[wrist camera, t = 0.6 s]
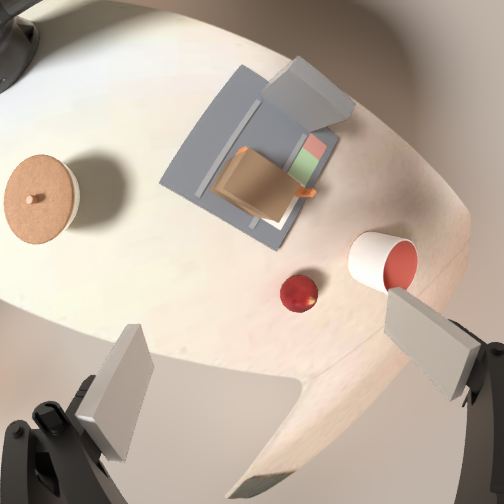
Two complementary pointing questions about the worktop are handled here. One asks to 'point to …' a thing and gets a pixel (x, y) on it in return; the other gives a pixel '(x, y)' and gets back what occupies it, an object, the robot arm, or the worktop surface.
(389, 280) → the cup
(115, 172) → the worktop surface
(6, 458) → the robot arm
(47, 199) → the lidded jar
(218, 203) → the base
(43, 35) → the worktop surface
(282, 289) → the onion
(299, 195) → the orange bracket
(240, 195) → the brown rectangular block
